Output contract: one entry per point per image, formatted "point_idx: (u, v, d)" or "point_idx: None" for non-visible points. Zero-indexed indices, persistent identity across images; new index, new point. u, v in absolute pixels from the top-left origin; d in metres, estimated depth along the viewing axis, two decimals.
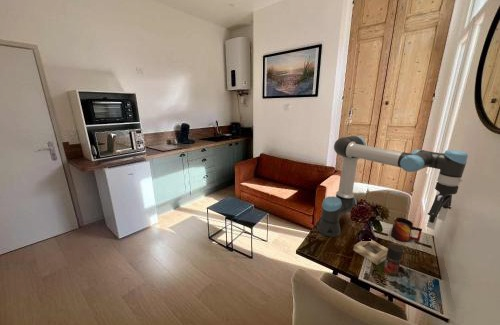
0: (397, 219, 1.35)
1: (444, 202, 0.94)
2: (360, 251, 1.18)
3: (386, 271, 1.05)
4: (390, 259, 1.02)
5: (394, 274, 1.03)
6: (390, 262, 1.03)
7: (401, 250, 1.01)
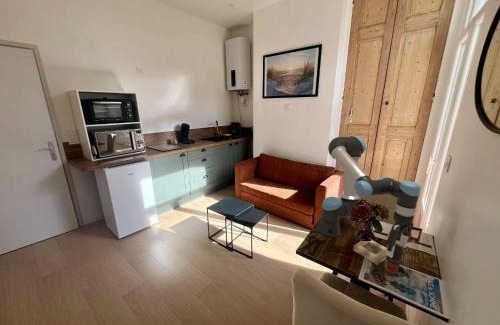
0: None
1: (401, 231, 0.96)
2: (360, 251, 1.18)
3: (386, 271, 1.05)
4: (390, 259, 1.02)
5: (394, 274, 1.03)
6: (390, 262, 1.03)
7: (401, 250, 1.01)
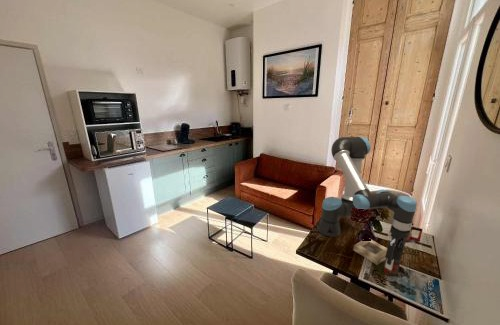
0: None
1: (397, 246, 0.99)
2: (360, 251, 1.18)
3: (386, 271, 1.05)
4: None
5: (394, 274, 1.03)
6: None
7: (401, 250, 1.01)
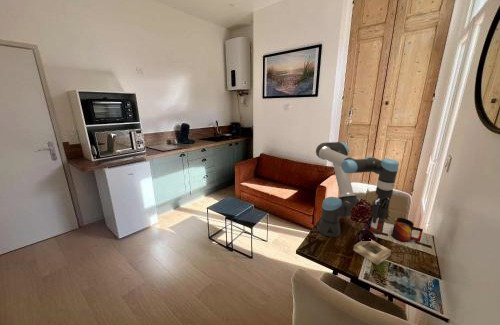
0: (398, 219, 1.35)
1: (382, 205, 1.08)
2: (360, 251, 1.18)
3: (372, 230, 1.15)
4: None
5: (379, 232, 1.13)
6: None
7: (385, 209, 1.10)
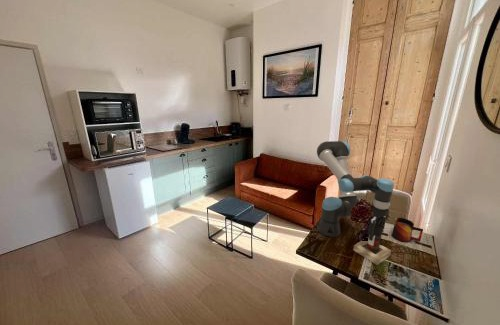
0: (398, 219, 1.35)
1: (378, 223, 1.12)
2: (360, 251, 1.18)
3: (369, 247, 1.18)
4: None
5: (376, 249, 1.16)
6: None
7: (381, 227, 1.13)
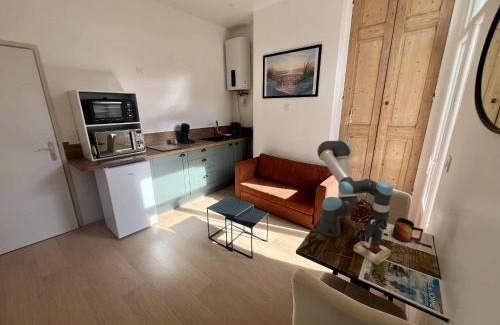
0: (398, 219, 1.35)
1: (376, 225, 1.12)
2: (360, 251, 1.18)
3: None
4: (371, 240, 1.16)
5: None
6: (371, 243, 1.16)
7: (380, 232, 1.14)
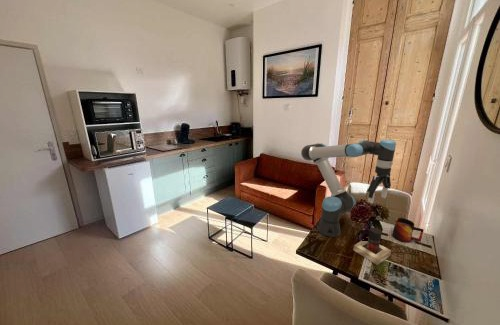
0: (398, 219, 1.35)
1: (380, 181, 1.17)
2: (360, 251, 1.18)
3: None
4: (371, 240, 1.16)
5: None
6: (371, 243, 1.17)
7: (380, 232, 1.14)
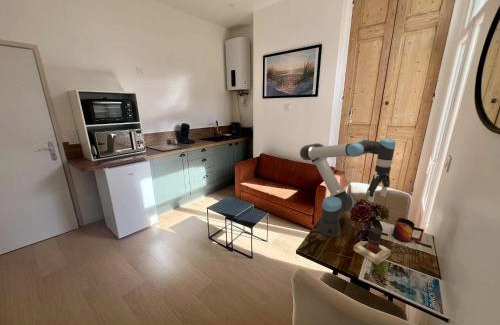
0: (399, 219, 1.35)
1: (380, 180, 1.18)
2: (360, 251, 1.18)
3: None
4: (371, 240, 1.16)
5: None
6: (371, 243, 1.17)
7: (380, 232, 1.14)
